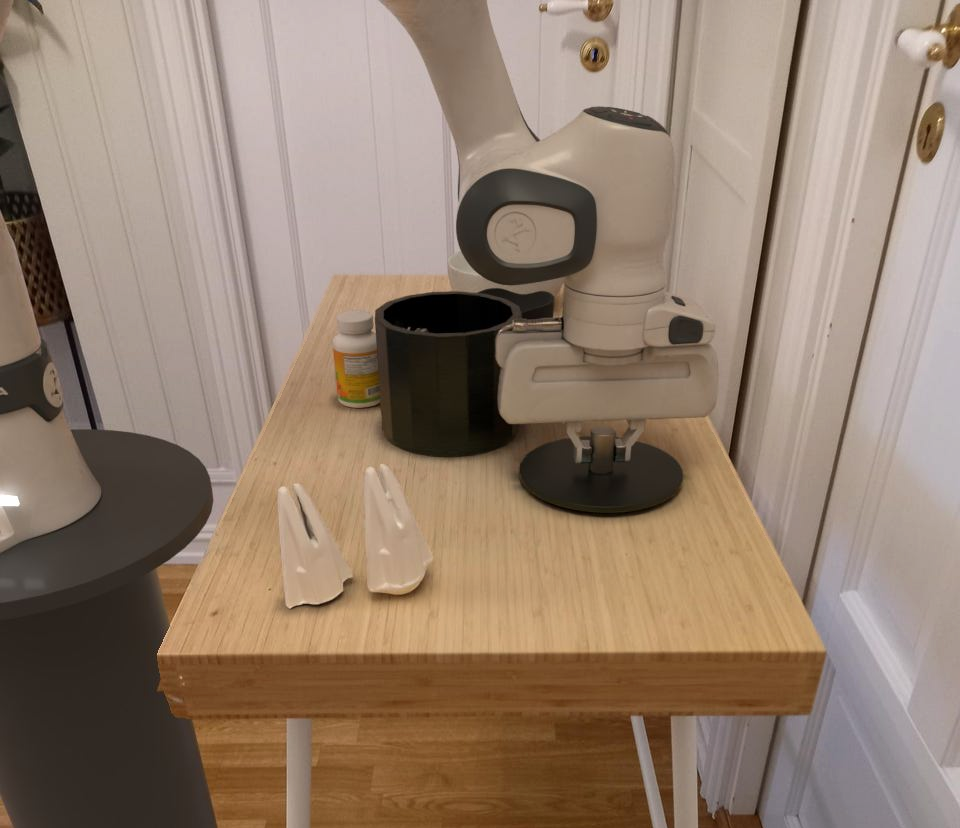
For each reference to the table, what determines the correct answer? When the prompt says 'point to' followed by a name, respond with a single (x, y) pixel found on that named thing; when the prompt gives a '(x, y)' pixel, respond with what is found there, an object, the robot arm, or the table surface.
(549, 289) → the cereal bowl
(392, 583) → the shaker set
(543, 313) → the pen holder
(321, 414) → the table surface
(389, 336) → the tin
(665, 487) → the lid
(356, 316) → the supplement bottle
